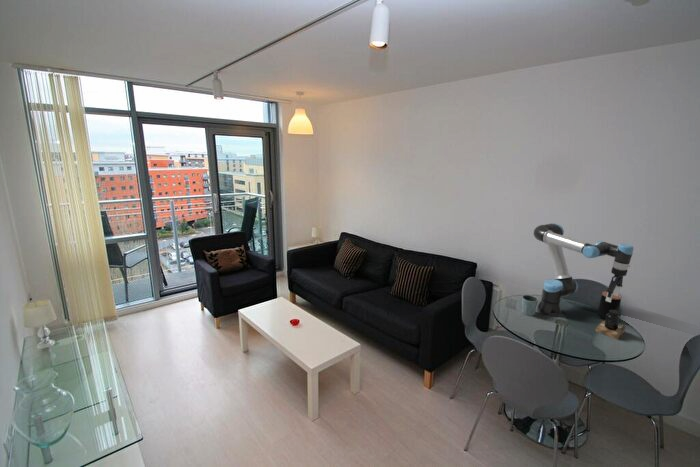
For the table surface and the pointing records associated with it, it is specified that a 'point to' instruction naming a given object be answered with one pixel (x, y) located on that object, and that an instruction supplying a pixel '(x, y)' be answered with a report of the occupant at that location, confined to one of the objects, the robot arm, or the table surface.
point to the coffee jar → (608, 305)
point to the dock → (608, 332)
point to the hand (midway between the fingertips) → (611, 298)
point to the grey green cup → (529, 305)
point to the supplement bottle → (612, 320)
